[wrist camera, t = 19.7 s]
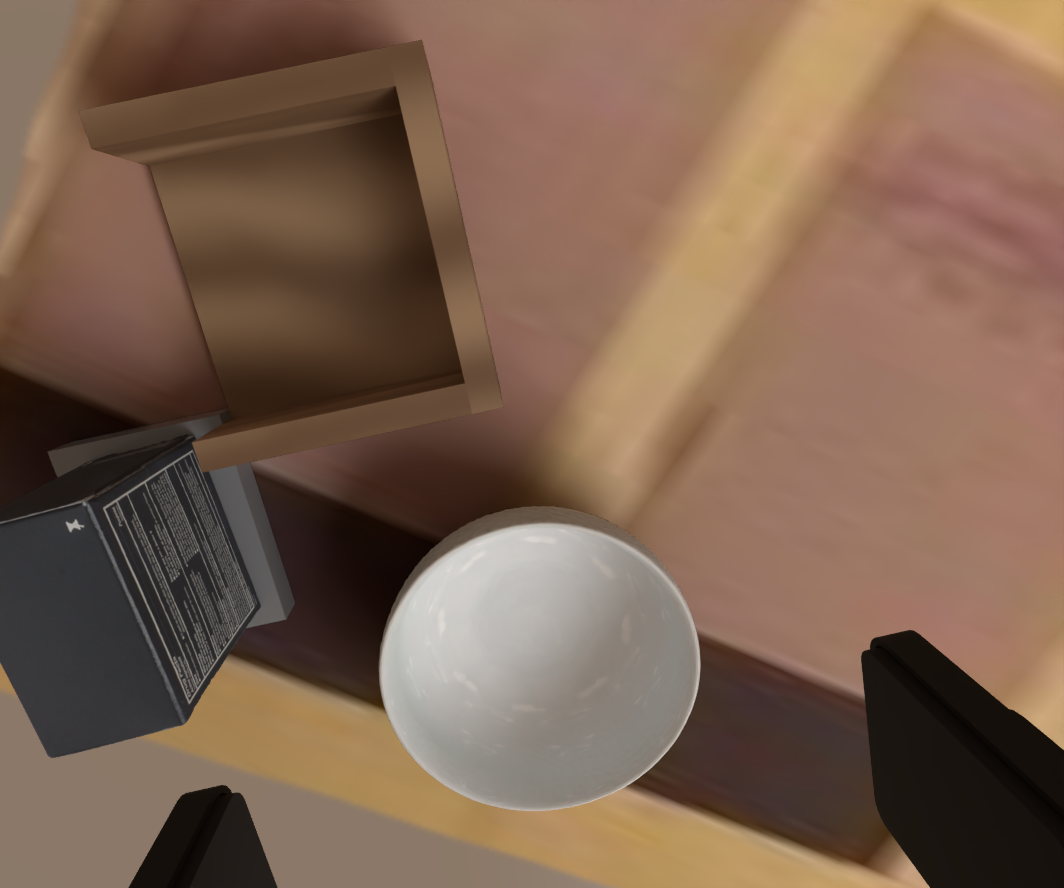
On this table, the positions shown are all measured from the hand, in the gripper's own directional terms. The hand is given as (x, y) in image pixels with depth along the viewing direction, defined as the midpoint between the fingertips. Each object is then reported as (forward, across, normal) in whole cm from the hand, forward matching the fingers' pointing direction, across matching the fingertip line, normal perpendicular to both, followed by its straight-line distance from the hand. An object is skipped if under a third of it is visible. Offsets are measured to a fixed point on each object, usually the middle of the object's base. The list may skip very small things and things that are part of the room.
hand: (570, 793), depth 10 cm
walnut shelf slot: (+30, +8, -9) cm, 33 cm away
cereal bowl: (+31, +1, +13) cm, 33 cm away
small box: (+28, +19, +3) cm, 34 cm away
